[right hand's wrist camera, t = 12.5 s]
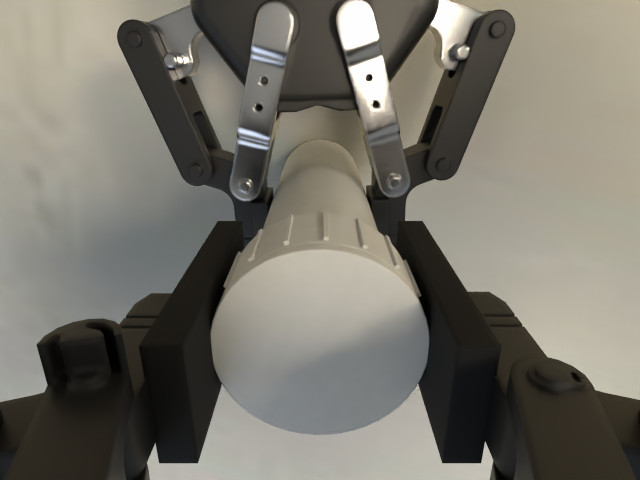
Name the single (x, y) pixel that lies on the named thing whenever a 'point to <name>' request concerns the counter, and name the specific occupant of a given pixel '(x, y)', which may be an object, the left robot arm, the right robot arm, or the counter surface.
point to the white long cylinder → (320, 184)
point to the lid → (320, 326)
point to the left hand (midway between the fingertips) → (322, 273)
